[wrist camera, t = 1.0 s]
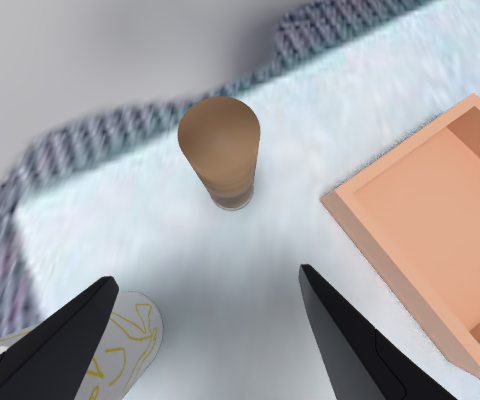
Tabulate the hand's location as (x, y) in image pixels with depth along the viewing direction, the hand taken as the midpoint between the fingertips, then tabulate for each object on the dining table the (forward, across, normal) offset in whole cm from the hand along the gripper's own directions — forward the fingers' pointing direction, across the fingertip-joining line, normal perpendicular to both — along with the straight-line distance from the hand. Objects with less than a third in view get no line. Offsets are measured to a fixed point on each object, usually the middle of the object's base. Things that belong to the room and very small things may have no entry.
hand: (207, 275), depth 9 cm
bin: (+11, -25, +7) cm, 28 cm away
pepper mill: (+15, -1, +3) cm, 15 cm away
